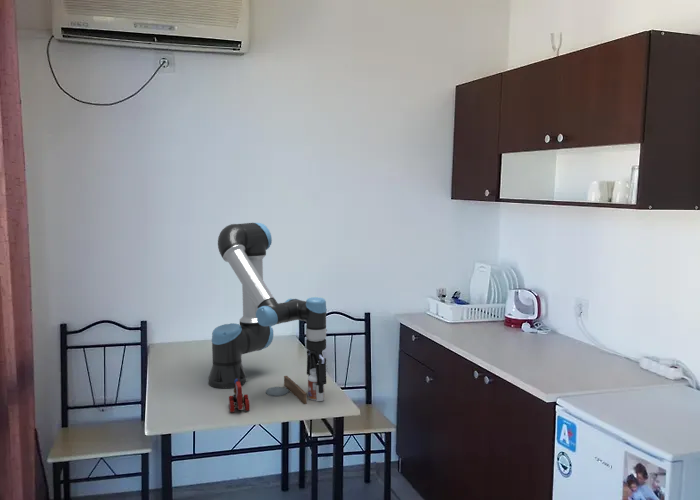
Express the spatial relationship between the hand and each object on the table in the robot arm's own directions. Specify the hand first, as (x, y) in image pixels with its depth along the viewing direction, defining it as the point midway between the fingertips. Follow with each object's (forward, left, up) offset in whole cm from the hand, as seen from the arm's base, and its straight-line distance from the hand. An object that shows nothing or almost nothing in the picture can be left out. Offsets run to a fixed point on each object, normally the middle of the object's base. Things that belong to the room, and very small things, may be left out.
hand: (316, 397), depth 235 cm
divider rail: (-6, +7, 0) cm, 9 cm away
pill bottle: (0, 0, 0) cm, 0 cm away
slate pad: (-12, +12, 0) cm, 17 cm away
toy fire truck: (-30, +2, -1) cm, 30 cm away
